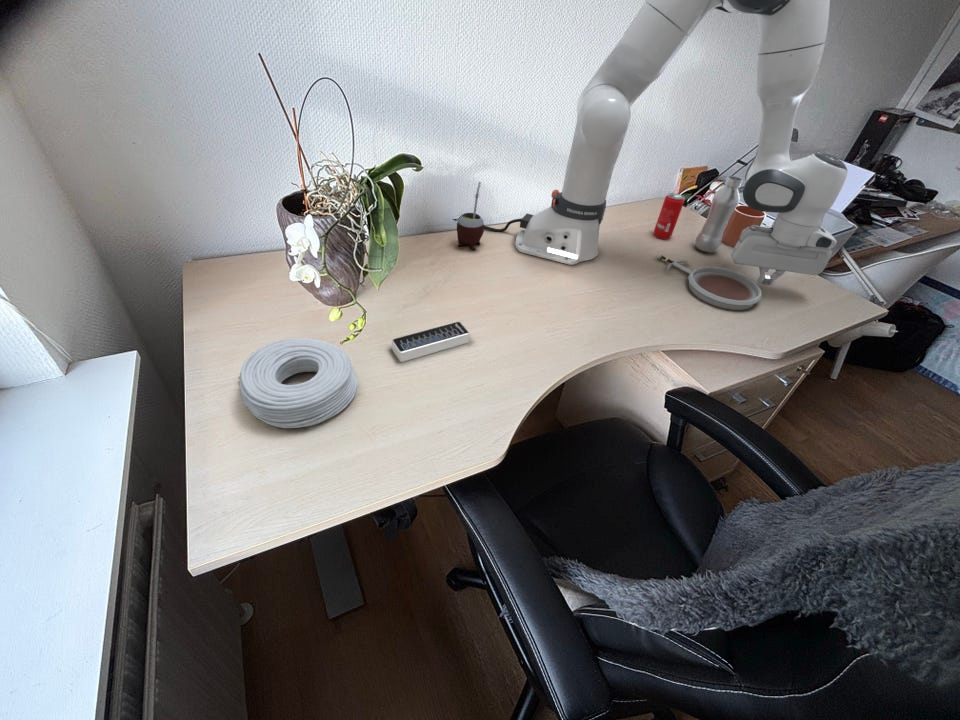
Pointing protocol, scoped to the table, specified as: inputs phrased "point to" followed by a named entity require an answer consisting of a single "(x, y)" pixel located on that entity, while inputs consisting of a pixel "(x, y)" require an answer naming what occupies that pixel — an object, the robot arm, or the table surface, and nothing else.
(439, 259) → the table surface
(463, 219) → the mate gourd
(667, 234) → the beverage can
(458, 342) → the multiport hub
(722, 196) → the plastic bottle
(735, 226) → the mug
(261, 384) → the cable
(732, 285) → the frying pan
